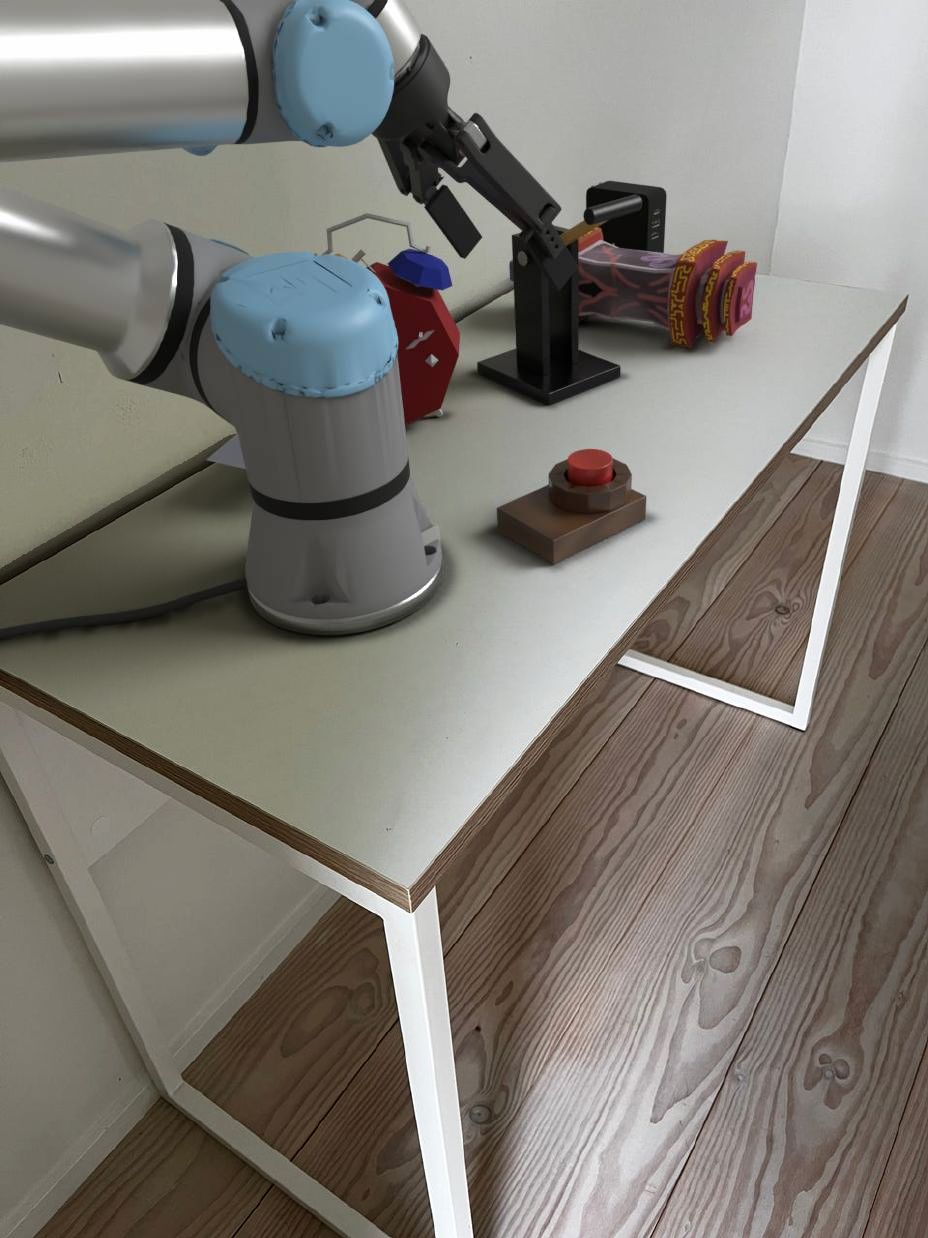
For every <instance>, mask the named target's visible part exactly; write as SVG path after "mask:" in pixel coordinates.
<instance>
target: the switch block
mask: <svg viewBox="0 0 928 1238" xmlns="http://www.w3.org/2000/svg"><path fill="white" fill-rule="evenodd" d="M612 458H613V470H612V480H611V482H608V483H606V484H604V485H601V486H593V487H586V486H579V485H574V484H572V483H570V482H569V481H568V470H567V459H568V458H566V459H564V460H562V461H559V462H557V463H555V464H554V466H553V467H552V468H551V470H550V471H549V472H548V475H547V476H548V478H547V479H548V484H547V485H545V486H543V487H540V488H537V489H535V490H534V491H531V492H529V493H526V494H524V495H522V496H520V497H518V498H515V499H513V500H511V501H509V502H507V503H504V504H502V505H500V506H498V507H496V521H497V531H498V532H499V533H501V534H503V535H504V536H506V537H508V538H509V539H510V540H512V541H514V542H516V543H518V544H519V545H521V546H522V547H524V548H526V549H527V550H528V551H530V552H532V553H534V554H535V555H537V556H538V557H540V558H542V559H543V560H545V561H547V562H548V563H550V564H551V565H556V564H558V563H560V562H563V561H564V560H566V559H569V558H570V557H572V556H574V555H577V554H578V553H580V552H582V551H584V550H587V549H588V548H590V547H593V546H594V545H596V544H598V543H600V542H603V541H604V540H607V539H609V538H611V537H612V536H615V535H616V534H618V533H620V532H623V531H625V530H627V529H629V528H631V527H634V526H635V525H637V524H639V523H641V522H643V521H645V520H646V517H647V516H646V514H647V513H646V512H647V495H646V494H643V493H641V492H639V491H637V490H635V489H632V484H633V483H632V482H633V481H632V480H633V473H632V472H631V470H630V468H629V466H628V465H627V464H626V463H624V462H622V461H620V460H617V459H616V458H614V457H612Z"/></svg>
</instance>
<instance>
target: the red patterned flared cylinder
mask: <svg viewBox="0 0 928 1238" xmlns="http://www.w3.org/2000/svg"><path fill="white" fill-rule="evenodd" d="M728 243H729V242H728V240H721V239H705V240H702V241H701V242H699V243H696V244H695V245H692V246H691V247H690V248H688V249H687V250H685V251H684V252H683V253H680V254H676V253H675V254H674V253H666V252H664V253H657V252H649V251H640V250H631V249H623V248H618V247H616V246H614V245H611V244H609V243H607V242H605V241H603V234H602V230H601V228H598V227H597V228H595V229H593V230H592V231H590V232H589V233H587V234H585V235H584V236H582V237H580V238H579V323H580V322H581V321H583V320H584V319H586V318H587V317H589V316H595V315H597V316H601V317H605V318H609V319H612V320H633V321H641V322H645V323H652V324H654V325H656V326H659V327H660V328H663V329H665V330H667V331H669V333H670V345H671V346H677V347H682V348H686V349H687V348H688V349H691V348H692V347H693V346H694V344H695V342H696V339H697V338H698V337H699V336H700V335H702V334H703V333H704V336H705V340H706V343H712V344H715V343H716V342H717V341H718V339H719V337H720V335H721V334H722V333H723V332H725V336H730V337H733V335H735V333H736V332H737V331H738V330H739V329H740V328H741V327H742V326H744V325H746V324H748V322H750V321H751V320H752V318H753V306H754V305H753V304H754V293H755V286H756V274H757V268H758V262H756V261H752V260H751V261H745V259H746V251H745V250H739V249H738V250H733V251H730V252H727V253H726V249H727V246H728ZM508 266H509V267H508V269H509V280H510V282H513V259H511V260H510V261H509V263H508Z"/></svg>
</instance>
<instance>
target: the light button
mask: <svg viewBox="0 0 928 1238" xmlns="http://www.w3.org/2000/svg"><path fill="white" fill-rule="evenodd" d="M613 458H614V457H613V456H612V455H611V454H610V453H609V452H607V451H605V450H603V449H598V448H584V449H579V450H576V451H574V452H571V453H570V454H569V455H568V457H567V458H566V459H567V470H568V481H569V482H570V483H572V484H574V485H579V486H586V487H593V486H601V485H604V484H606V483H608V482H611V480H612V470H613Z"/></svg>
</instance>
